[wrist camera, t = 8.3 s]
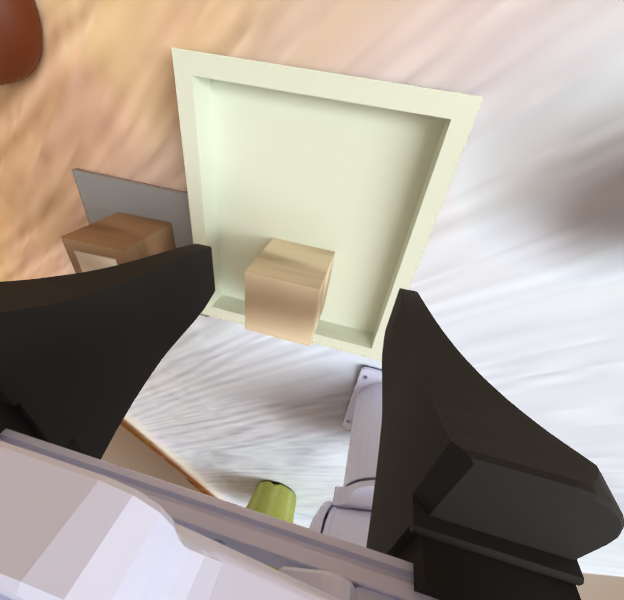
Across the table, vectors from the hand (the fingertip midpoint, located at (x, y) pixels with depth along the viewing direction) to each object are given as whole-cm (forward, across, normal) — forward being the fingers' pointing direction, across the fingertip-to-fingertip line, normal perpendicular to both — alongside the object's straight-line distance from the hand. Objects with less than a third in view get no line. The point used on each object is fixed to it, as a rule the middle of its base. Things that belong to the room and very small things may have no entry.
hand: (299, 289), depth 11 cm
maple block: (+10, +2, +5) cm, 11 cm away
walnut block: (+10, +15, +6) cm, 19 cm away
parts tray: (+10, +2, +2) cm, 10 cm away
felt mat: (+10, +15, +6) cm, 19 cm away
